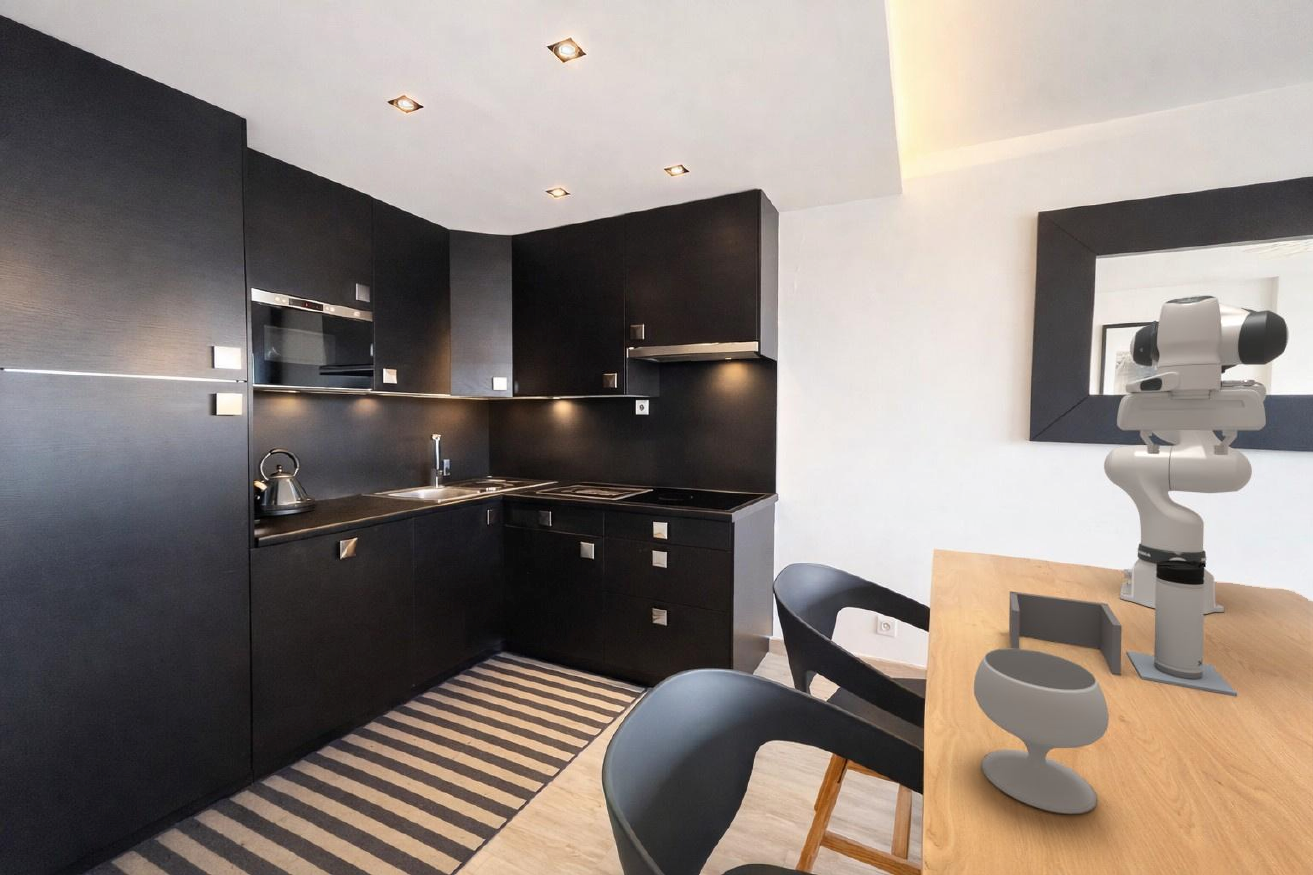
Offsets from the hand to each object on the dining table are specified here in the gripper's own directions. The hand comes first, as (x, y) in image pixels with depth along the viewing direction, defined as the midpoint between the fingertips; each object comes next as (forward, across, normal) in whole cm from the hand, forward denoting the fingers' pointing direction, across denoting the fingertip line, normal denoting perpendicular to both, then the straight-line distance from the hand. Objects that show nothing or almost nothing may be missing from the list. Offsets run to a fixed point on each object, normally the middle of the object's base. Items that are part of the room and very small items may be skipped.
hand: (1186, 454), depth 103 cm
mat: (+39, +3, +10) cm, 40 cm away
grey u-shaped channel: (+39, +20, +10) cm, 45 cm away
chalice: (+39, +27, +58) cm, 75 cm away
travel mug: (+39, +3, +10) cm, 40 cm away
